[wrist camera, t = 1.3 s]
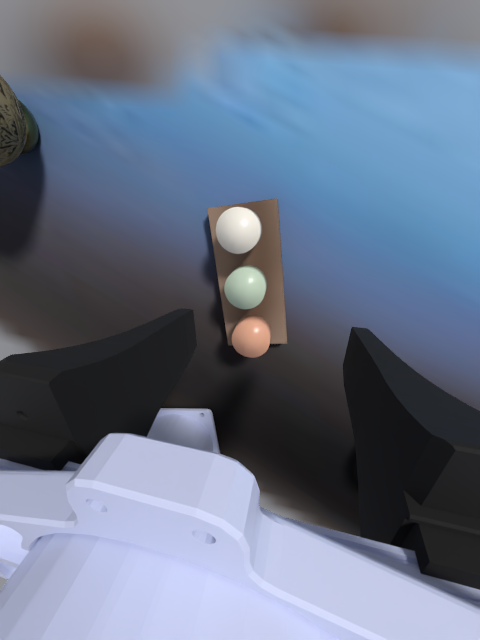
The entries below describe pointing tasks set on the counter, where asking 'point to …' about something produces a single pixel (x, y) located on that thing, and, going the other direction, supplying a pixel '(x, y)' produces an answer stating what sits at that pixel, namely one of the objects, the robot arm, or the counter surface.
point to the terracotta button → (251, 336)
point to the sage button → (245, 287)
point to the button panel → (260, 256)
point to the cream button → (238, 230)
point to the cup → (15, 126)
